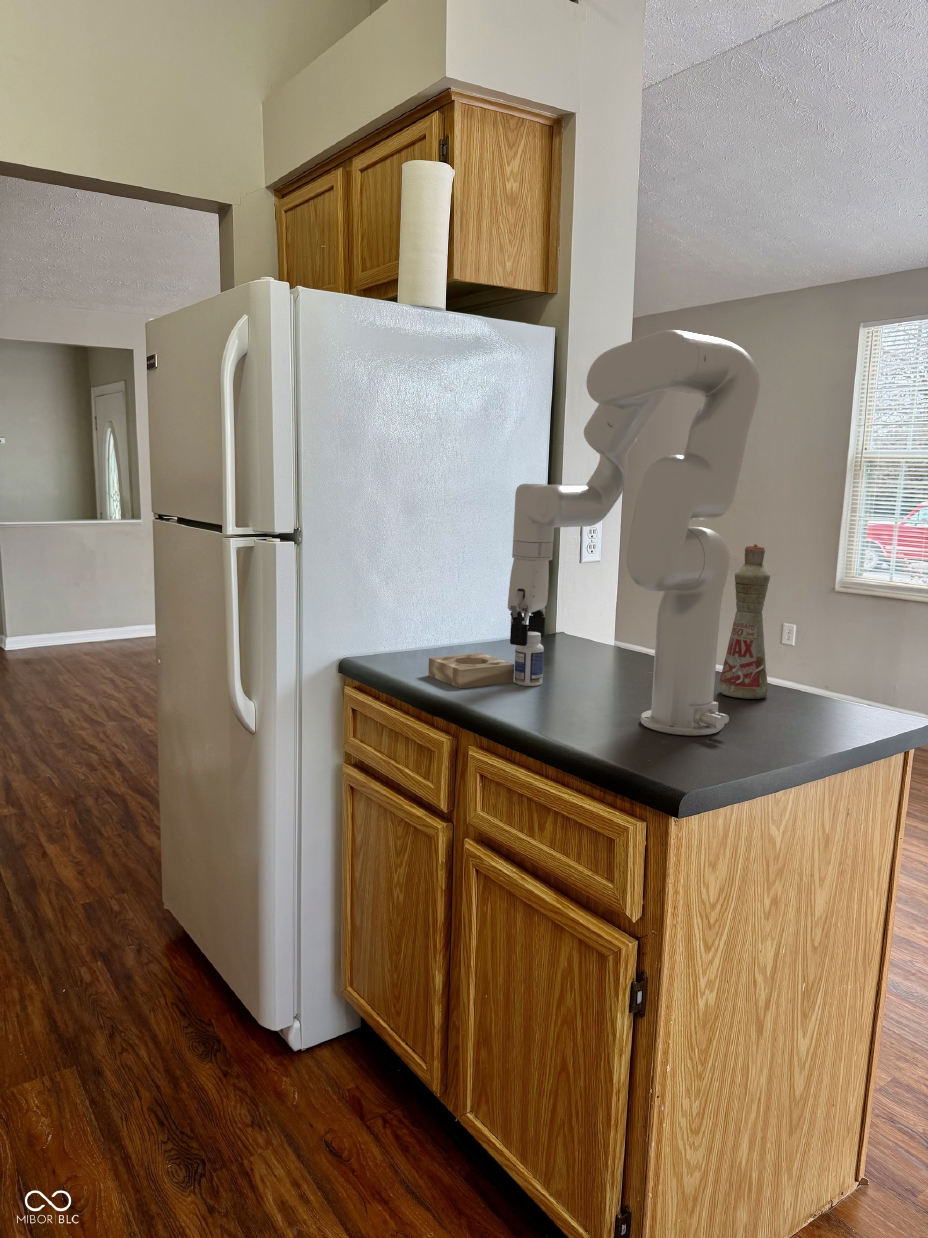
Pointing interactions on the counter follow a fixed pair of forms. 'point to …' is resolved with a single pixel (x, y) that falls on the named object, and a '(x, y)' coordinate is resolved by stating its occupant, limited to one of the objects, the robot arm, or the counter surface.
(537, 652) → the pill bottle
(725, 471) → the robot arm
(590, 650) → the counter surface
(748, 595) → the bottle
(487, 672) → the collar
